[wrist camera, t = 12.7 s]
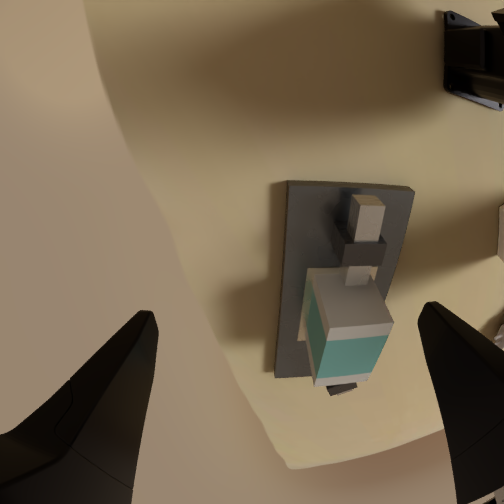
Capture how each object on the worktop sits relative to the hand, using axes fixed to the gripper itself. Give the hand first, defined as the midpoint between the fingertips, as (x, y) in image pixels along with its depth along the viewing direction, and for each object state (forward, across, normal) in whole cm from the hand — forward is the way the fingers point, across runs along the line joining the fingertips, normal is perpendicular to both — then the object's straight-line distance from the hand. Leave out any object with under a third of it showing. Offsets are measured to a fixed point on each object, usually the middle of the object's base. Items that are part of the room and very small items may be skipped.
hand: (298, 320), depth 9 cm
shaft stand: (+12, -6, +10) cm, 17 cm away
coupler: (+11, -6, +10) cm, 16 cm away
